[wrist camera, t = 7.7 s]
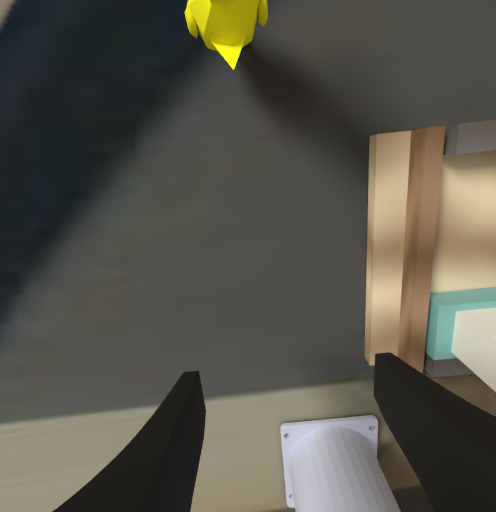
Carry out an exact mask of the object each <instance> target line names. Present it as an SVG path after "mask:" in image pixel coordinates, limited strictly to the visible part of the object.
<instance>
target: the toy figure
mask: <svg viewBox="0 0 496 512" xmlns="http://www.w3.org/2000/svg"><path fill="white" fill-rule="evenodd" d="M185 16H186V21H187V25H188V29H189V31H190V33H191V34H192V35H193V36H194V37H195V38H197V36H198V31H199V33H200V35H201V37H202V39H203V40H204V42H205V44H206V46H207V48H209V49H212V50H216V51H219V52H220V54H221V55H222V56H223V57H224V59H225V60H226V61H227V62H228V64H229V65H230V66H231V67H232V69H233V70H234V68H235V65H236V62H237V60H238V57H239V54H240V52H241V49H242V47H244V46H245V45H247V44H248V43H250V42H251V41H252V39H253V34H254V30H255V25H256V21H257V16H258V21H259V23H260V24H261V25H262V26H263V27H264V25H265V24H266V21H267V19H268V7H267V0H189V1H188V3H187V9H186V11H185Z"/></svg>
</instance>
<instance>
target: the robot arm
mask: <svg viewBox="0 0 496 512" xmlns="http://www.w3.org/2000/svg"><path fill="white" fill-rule="evenodd" d="M374 397H375V399H376V402H377V404H378V406H379V409H380V411H381V413H382V415H383V418H384V420H385V422H386V423H387V425H388V427H389V429H390V430H391V432H392V434H393V436H394V437H395V439H396V441H397V442H398V444H399V446H400V448H401V449H402V451H403V453H404V454H405V456H406V458H407V460H408V461H409V463H410V465H411V466H412V468H413V470H414V471H415V473H416V475H417V477H418V478H419V480H420V482H421V484H422V486H423V487H424V489H425V491H426V493H427V495H428V497H429V499H430V501H431V503H432V505H433V508H434V510H435V512H496V417H495V416H493V415H491V414H489V413H487V412H485V411H483V410H482V409H480V408H478V407H476V406H474V405H472V404H471V403H469V402H467V401H466V400H464V399H462V398H460V397H459V396H457V395H455V394H454V393H452V392H450V391H449V390H447V389H446V388H444V387H442V386H441V385H439V384H438V383H436V382H434V381H433V380H431V379H430V378H428V377H427V376H425V375H424V374H422V373H421V372H419V371H418V370H416V369H415V368H413V367H412V366H410V365H409V364H407V363H406V362H404V361H403V360H401V359H400V358H398V357H397V356H395V355H394V354H392V353H391V352H387V353H377V354H375V370H374ZM205 416H206V409H205V403H204V398H203V392H202V387H201V381H200V375H199V371H192V372H184V373H183V374H182V375H181V377H180V378H179V379H178V381H177V382H176V384H175V385H174V387H173V388H172V390H171V391H170V392H169V394H168V395H167V397H166V398H165V399H164V401H163V402H162V403H161V405H160V406H159V407H158V409H157V410H156V411H155V413H154V414H153V415H152V417H151V418H150V419H149V420H148V422H147V423H146V424H145V425H144V426H143V428H142V429H141V430H140V431H139V432H138V434H137V435H136V436H135V437H134V438H133V439H132V440H131V442H130V443H129V444H128V445H127V446H126V447H125V448H124V449H123V450H122V451H121V452H120V453H119V454H118V455H117V456H116V457H115V458H114V459H113V460H112V461H111V462H110V463H109V464H108V465H107V466H106V467H105V468H104V469H103V470H102V471H100V472H99V473H98V474H97V475H96V476H95V477H94V478H93V479H92V480H91V481H90V482H88V483H87V484H86V485H85V486H84V487H83V488H81V489H80V490H79V491H78V492H77V493H76V494H74V495H73V496H72V497H71V498H69V499H68V500H67V501H66V502H64V503H63V504H62V505H61V506H59V507H58V508H57V509H56V510H54V511H53V512H190V509H191V503H192V497H193V492H194V487H195V481H196V476H197V471H198V466H199V460H200V455H201V450H202V444H203V439H204V429H205ZM370 426H371V427H370ZM280 431H281V442H282V454H283V466H284V477H285V489H286V500H287V505H288V506H289V507H291V508H294V507H295V510H296V512H401V511H400V509H399V506H398V504H397V502H396V500H395V498H394V496H393V493H392V491H391V489H390V487H389V485H388V482H387V480H386V478H385V476H384V474H383V472H382V469H381V467H380V465H379V463H378V461H377V441H378V420H377V418H376V417H375V416H374V415H366V416H356V417H345V418H335V419H324V420H314V421H303V422H293V423H284V424H283V425H281V427H280Z"/></svg>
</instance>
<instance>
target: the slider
mask: <svg viewBox="0 0 496 512" xmlns="http://www.w3.org/2000/svg"><path fill="white" fill-rule="evenodd" d="M425 352H426V353H427V354H428V355H429V356H430V357H431V358H432V359H433V360H442V359H452V358H458V359H459V360H460V361H461V362H463V363H464V364H465V365H466V366H467V367H468V368H469V369H470V370H472V371H473V372H474V373H475V374H476V375H477V376H478V377H479V378H480V379H482V380H483V381H484V382H485V383H486V384H487V385H488V386H489V387H490V388H492V389H493V390H494V391H496V287H488V288H478V289H468V290H458V291H448V292H438V293H430V299H429V310H428V321H427V332H426V342H425Z"/></svg>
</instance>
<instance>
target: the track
mask: <svg viewBox="0 0 496 512" xmlns="http://www.w3.org/2000/svg"><path fill="white" fill-rule="evenodd" d="M488 287H496V120H490V121H481V122H471V123H462V124H455V125H450V126H436V127H427V128H422V129H417V130H412V131H403V132H394V133H384V134H376V135H371V136H370V139H369V185H368V231H367V277H366V322H365V358H366V360H367V361H368V363H369V365H375V354H377V353H387V352H391V353H392V354H394V355H395V356H397V357H398V358H400V359H401V360H403V361H404V362H406V363H407V364H409V365H410V366H412V367H413V368H415V369H416V370H418V371H419V372H421V373H422V374H423V368H424V369H425V370H426V371H427V372H428V373H429V375H430V376H431V377H432V378H435V377H445V376H456V375H466V374H475V373H474V372H473V371H472V370H470V369H469V368H468V367H467V366H466V365H465V364H464V363H463V362H461V361H460V360H459V359H458V358H452V359H442V360H433V359H432V358H431V357H430V356H429V355H428V354H427V353H426V352H425V342H426V332H427V321H428V310H429V299H430V293H438V292H448V291H458V290H468V289H478V288H488Z"/></svg>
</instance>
